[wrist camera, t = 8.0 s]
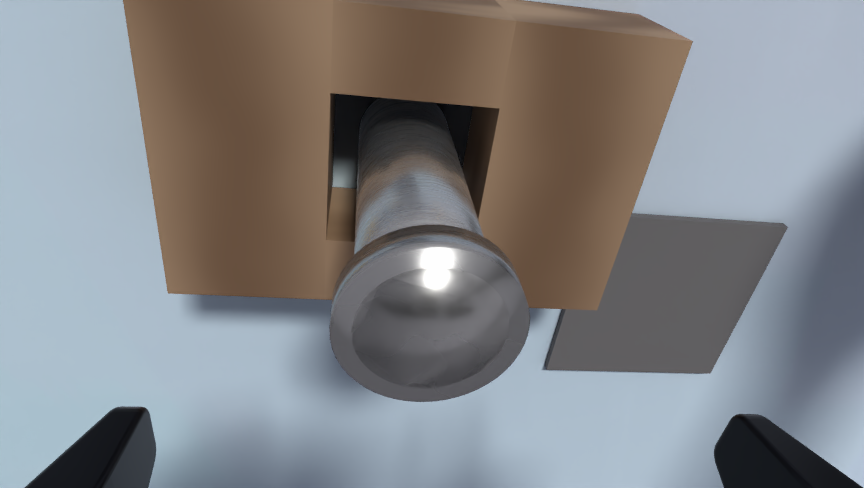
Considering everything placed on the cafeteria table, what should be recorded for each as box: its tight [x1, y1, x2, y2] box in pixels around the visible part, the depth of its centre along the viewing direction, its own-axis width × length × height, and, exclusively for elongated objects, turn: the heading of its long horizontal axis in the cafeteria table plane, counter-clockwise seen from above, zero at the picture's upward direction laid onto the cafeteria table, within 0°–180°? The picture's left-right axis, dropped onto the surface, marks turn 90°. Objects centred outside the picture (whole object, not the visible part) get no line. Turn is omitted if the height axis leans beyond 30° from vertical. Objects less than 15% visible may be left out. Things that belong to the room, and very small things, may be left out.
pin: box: [330, 98, 530, 402], centre depth 15 cm, size 4×4×10 cm
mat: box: [545, 213, 788, 373], centre depth 24 cm, size 8×8×1 cm
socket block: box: [123, 0, 693, 310], centre depth 18 cm, size 14×9×4 cm, turn 83°
